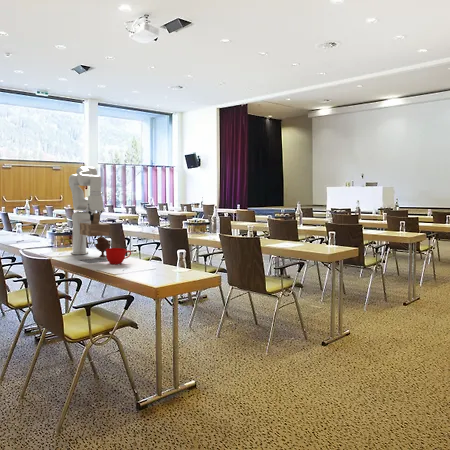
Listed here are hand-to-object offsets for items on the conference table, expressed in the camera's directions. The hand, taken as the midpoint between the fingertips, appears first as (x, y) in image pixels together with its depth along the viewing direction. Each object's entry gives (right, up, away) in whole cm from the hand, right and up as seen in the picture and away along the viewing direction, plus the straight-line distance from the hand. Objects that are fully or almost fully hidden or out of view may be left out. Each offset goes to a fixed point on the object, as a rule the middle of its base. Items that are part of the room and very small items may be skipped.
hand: (95, 220), depth 319 cm
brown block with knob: (0, -10, +1) cm, 10 cm away
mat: (-1, -28, +2) cm, 28 cm away
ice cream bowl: (0, -27, +21) cm, 34 cm away
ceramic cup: (+18, -30, -7) cm, 35 cm away
